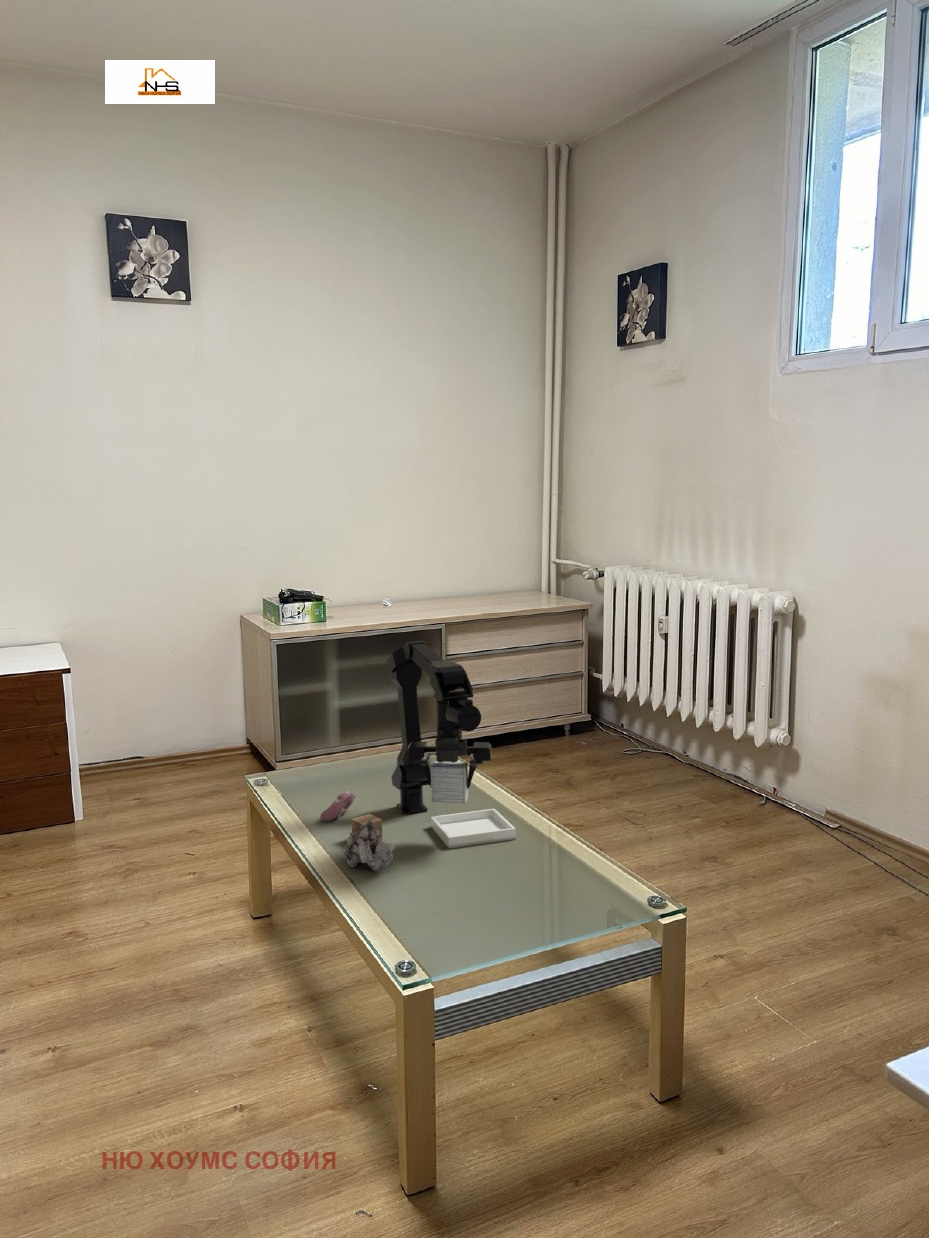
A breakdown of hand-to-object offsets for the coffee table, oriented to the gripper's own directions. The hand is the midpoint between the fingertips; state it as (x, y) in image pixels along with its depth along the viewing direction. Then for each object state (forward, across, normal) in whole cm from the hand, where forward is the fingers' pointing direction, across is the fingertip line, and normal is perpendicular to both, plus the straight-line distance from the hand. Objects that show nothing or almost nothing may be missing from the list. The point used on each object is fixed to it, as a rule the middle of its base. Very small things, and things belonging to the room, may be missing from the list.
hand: (449, 787), depth 209 cm
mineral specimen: (+12, -17, -15) cm, 26 cm away
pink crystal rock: (+13, -29, +14) cm, 34 cm away
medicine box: (+3, 0, 0) cm, 3 cm away
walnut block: (+12, -19, -1) cm, 23 cm away
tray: (+12, +5, +4) cm, 14 cm away
